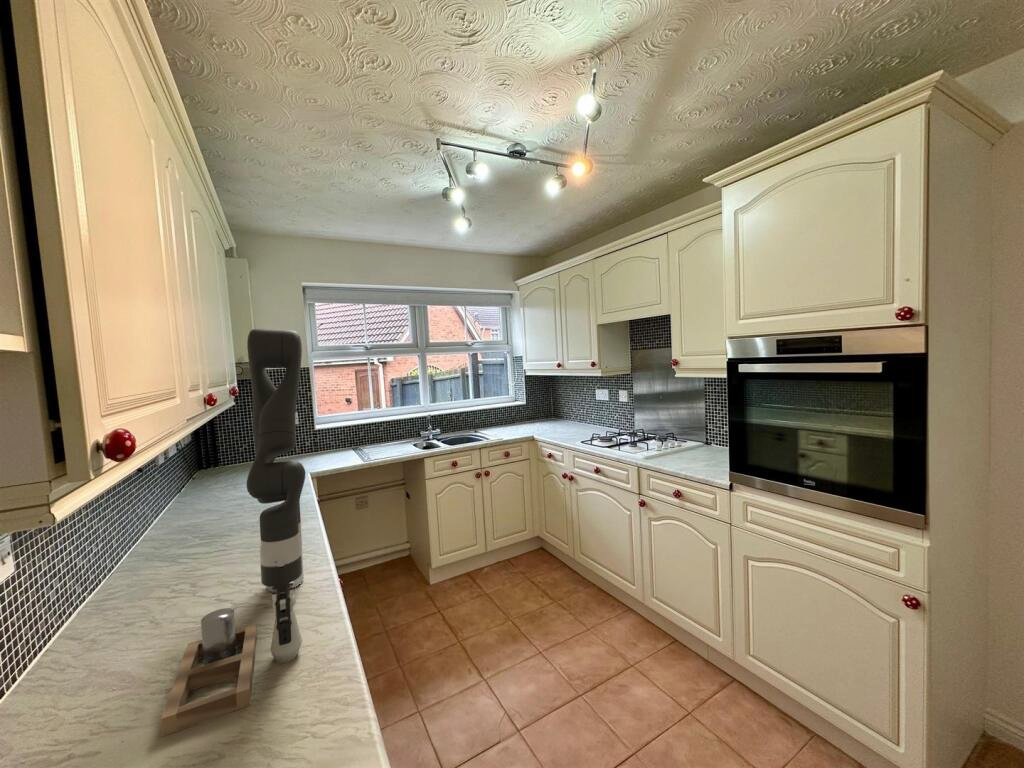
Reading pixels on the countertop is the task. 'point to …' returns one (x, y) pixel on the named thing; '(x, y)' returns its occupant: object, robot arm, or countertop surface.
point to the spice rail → (196, 677)
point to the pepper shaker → (218, 635)
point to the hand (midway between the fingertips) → (285, 632)
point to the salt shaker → (291, 649)
